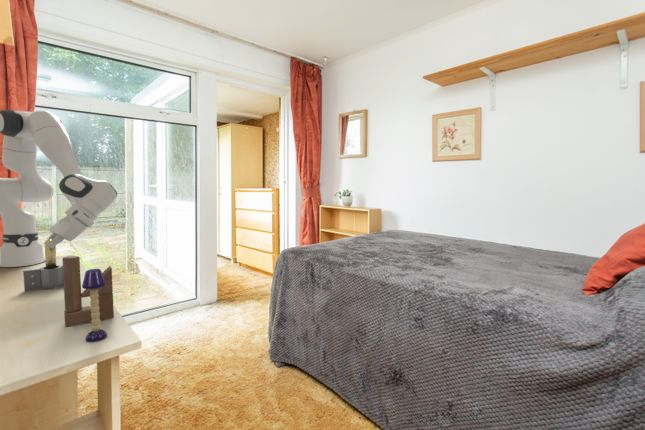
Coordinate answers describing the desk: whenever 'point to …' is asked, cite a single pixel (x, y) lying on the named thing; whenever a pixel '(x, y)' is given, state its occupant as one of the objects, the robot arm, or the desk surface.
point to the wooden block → (84, 294)
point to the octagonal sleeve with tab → (43, 278)
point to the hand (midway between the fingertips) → (47, 245)
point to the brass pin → (50, 256)
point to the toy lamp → (94, 302)
